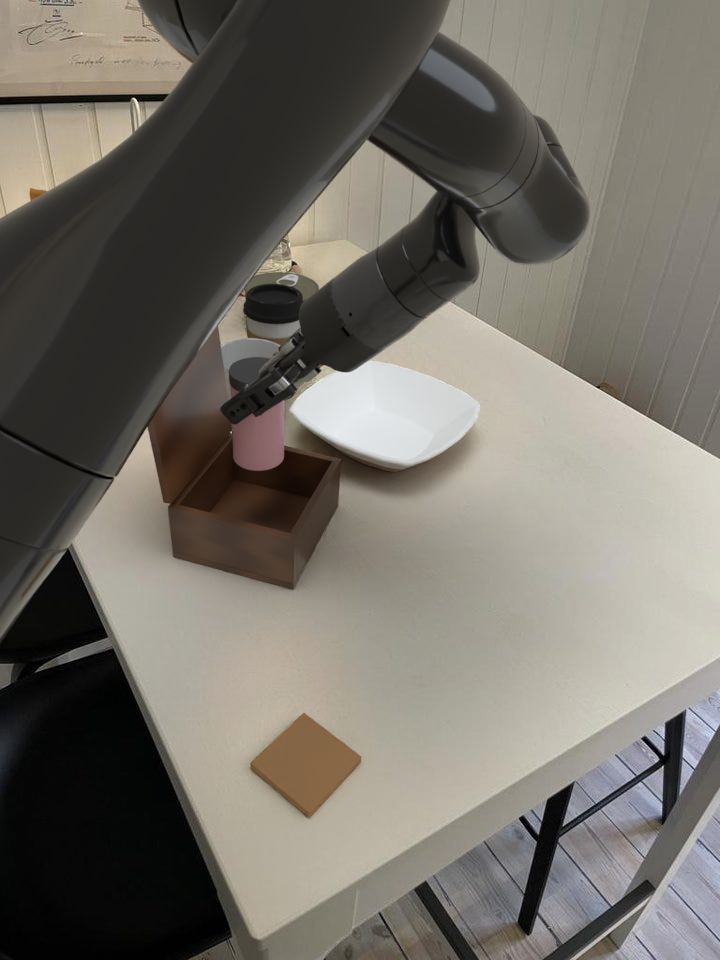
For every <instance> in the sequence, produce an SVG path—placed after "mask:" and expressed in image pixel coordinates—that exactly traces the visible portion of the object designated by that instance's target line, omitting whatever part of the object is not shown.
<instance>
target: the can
mask: <svg viewBox="0 0 720 960" xmlns="http://www.w3.org/2000/svg"><path fill="white" fill-rule="evenodd" d="M262 284H283V285H288V286H291V287H294V288H296V289H297V290H299V291H300V292H301V293H302V296H303V302H304V301H305V300H306V299H308V298H309V297H310V296H311V295H313V294H314V293H315V292H317V291H318V290H319V289H320V286H319V284H318V283H317V282H316V281H315V280H314V279H312V278H311V277H308V276H307V275H306V276H305V275H303V274H299V273H294V272H293V273H292V272H286V271H285V272H284V271H271V272H264V273H259V274H255V276H254V277H253V278H252V280H251V281H250V282H249V284H248V285H247V286H246V288H245V289H244V290H243V291H244V296H245V300H246V296H247V292H248V291H249V290H250V289H251V288H253V287H255V286H258V285H262ZM245 318H246V321H245V324H247V316H246V315H245Z"/></svg>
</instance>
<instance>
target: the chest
mask: <svg viewBox="0 0 720 960" xmlns="http://www.w3.org/2000/svg"><path fill="white" fill-rule="evenodd" d="M341 466H342V458H340V457H339V458H338V457H335V456H330V455H326V454H321V453H317V452H313V451H309V450H305V449H300V448H296V447H291V446H288V445H284V459H283V461H282V462H281V463H280V464H279V465H278V466H276V467H274V468H272V469H269V470H263V471H254V470H248V469H245V468H243V467H241V466H239V465H238V464H237V463H236V462H235V461H234V458H233V438H232V432H230V433H229V434H228V435H227V437H226V438H225V439H224V440H223V441H222V443H221V444H220V445H219V446H218V447H217V449H216V450H215V451H214V452H213V453H212V455H211V456H210V457H209V458H208V459H207V461H206V462H205V463H204V464H203V465H202V467H201V468H200V469H199V470H198V471H197V473H196V474H195V475H194V476H193V478H192V479H191V480H190V481H189V482H188V484H187V485H186V486H185V487H184V488H183V490H182V491H181V492H180V493H179V494H178V496H177V497H176V498H175V499H174V500H173V502H172V503H171V504H169V505H168V506H167V514H168V515H167V517H168V522H169V523H168V524H169V533H170V542H171V548H172V549H171V551H172V557H173V558H175V559H179V560H184V561H187V562H191V563H194V564H198V565H203V566H206V567H209V568H212V569H213V568H214V569H217V570H220V571H223V572H227V573H232V574H235V575H238V576H243V577H246V578H250V579H253V580H257V581H260V582H265V583H268V584H271V585H275V586H279V587H283V588H286V589H290V590H294V589H295V587H296V586H297V584H298V582H299V580H300V578H301V576H302V575H303V572H304V571H305V569H306V567H307V565H308V563H309V562H310V559H311V557H312V556H313V554H314V552H315V550H316V548H317V547H318V544H319V543H320V541H321V539H322V537H323V535H324V533H325V531H326V530H327V528H328V526H329V524H330V522H331V520H332V518H333V516H334V515H335V513H336V511H337V509H338V507H339V501H340V500H339V499H340V485H341V468H342V467H341Z"/></svg>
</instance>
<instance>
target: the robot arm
mask: <svg viewBox="0 0 720 960" xmlns="http://www.w3.org/2000/svg"><path fill="white" fill-rule="evenodd" d="M137 3H138V5H139V8H140V9H141V10H142V12H143V14H144V15H145V16H146V18H147V20H148V21H149V22H150V24H151V26H152V27H153V29H154V31H156V33H158V35H159V36H160V37H161V38H162V39H163V40H164V41H165V42H166V43H167V45H168V46H169V47H170V48H171V49H172V50H173V51H175V52H176V53H177V54H178V55H179V56H181V57H182V58H183V59H184V60H186V61H188V62H189V63H190V64H191V65H190V66H189V67H188V69H187V71H185V72H184V74H183V76H182V77H181V78H180V80H179V81H178V83H177V84H176V86H175V87H174V88H173V89H172V90H171V92H169V94H168V95H167V96H166V97H165V99H163V101H162V102H161V103H160V105H159V106H158V107H157V108H155V110H154V111H153V112H152V114H151V115H150V116H149V117H148V118H147V119H146V120H145V121H144V122H142V123H141V125H140V126H139V127H138V128H137V129H135V130H134V131H133V132H132V133H131V135H129V136H128V137H127V138H126V139H125V140H123V141H122V142H120V143H119V144H118V145H117V146H115V147H114V148H112V150H111V151H109V152H108V153H107V154H105V155H104V156H103V157H102V158H100V159H99V160H97V161H96V162H94V163H92V164H90V165H89V166H87V167H86V168H84V169H83V170H81V171H79V172H77V173H76V174H74V175H73V176H71V177H70V178H68V179H66V180H65V181H63V182H61V183H59V184H58V185H56V186H54V187H52V188H50V189H48V190H46V191H47V192H45V193H44V194H42V195H40V196H38V197H37V198H35V199H33V200H30V201H27V202H26V203H24V204H23V205H21V206H19V207H17V208H15V209H14V210H12V211H10V212H9V213H7V214H5V215H3V216H2V217H0V644H1V643H2V642H3V640H4V639H5V637H6V636H7V634H8V633H9V632H10V630H11V628H12V627H13V626H14V624H15V622H16V621H17V619H18V618H19V616H20V615H21V613H22V612H23V611H24V609H25V608H26V606H27V605H28V604H29V602H30V601H31V599H32V598H33V596H34V595H35V594H36V593H37V591H38V590H39V589H40V587H41V586H42V584H43V583H44V582H45V580H46V579H47V578H48V577H49V575H50V574H51V573H52V571H53V570H54V569H55V567H56V565H57V564H58V563H59V562H60V560H61V559H62V557H63V556H64V555H65V553H66V552H67V551H68V549H69V548H70V546H71V545H72V543H73V542H74V540H75V539H76V538H77V536H78V534H79V533H80V532H81V530H82V528H83V527H84V526H85V524H86V523H87V521H88V519H90V517H91V515H92V514H93V512H94V511H95V510H96V508H97V506H98V505H99V504H100V502H101V501H102V499H103V497H104V496H105V495H106V493H107V491H108V490H109V489H110V487H111V486H112V484H113V483H114V481H115V478H117V477H118V476H119V474H120V473H121V471H122V469H123V468H124V466H125V464H126V463H127V461H128V459H129V458H130V456H131V454H132V452H133V451H134V449H135V448H136V446H137V445H138V443H139V441H140V440H141V438H142V436H143V434H144V433H145V432H146V430H147V429H148V425H149V424H150V422H151V420H152V419H153V417H154V416H155V414H156V413H157V411H158V410H159V408H160V407H161V405H162V404H163V402H164V401H165V400H166V398H167V397H168V395H169V394H170V392H171V391H172V389H173V388H174V387H175V385H176V384H177V382H178V381H179V380H180V378H181V377H182V375H183V374H184V372H185V371H186V370H187V368H188V367H189V365H190V364H191V363H192V361H193V360H194V358H195V357H196V356H197V354H198V353H199V351H200V350H201V348H202V347H203V346H204V344H205V343H206V341H207V340H208V339H209V337H210V336H211V334H212V333H213V332H214V330H215V329H216V328H217V326H218V327H219V326H220V324H221V323H222V321H223V320H224V318H225V317H226V315H227V314H228V313H229V311H230V310H231V308H232V307H233V306H234V304H235V303H236V301H237V300H238V299H239V297H240V296H241V295H242V293H243V292H244V291H245V290H244V289H245V288H246V286H247V285H248V284H249V282H250V281H251V280H252V278H253V277H254V276H256V275H257V273H258V272H259V271H260V269H261V267H262V266H263V265H264V264H265V263H266V261H267V260H268V259H269V258H270V256H271V255H272V254H273V253H274V252H275V250H276V249H277V248H278V247H279V246H280V245H281V243H282V242H283V240H284V239H285V238H286V237H287V236H288V235H289V233H290V232H291V231H292V230H293V229H294V228H295V226H296V225H297V224H298V222H300V220H301V219H302V218H303V217H304V216H305V214H306V213H307V212H308V211H309V209H310V208H311V207H312V206H313V204H315V202H316V201H317V200H318V198H320V197H321V196H322V194H323V193H324V191H326V189H327V188H328V187H329V186H330V185H331V183H332V182H333V181H334V180H335V178H336V177H337V176H338V175H340V172H341V171H342V170H343V169H344V168H345V167H346V165H347V164H348V163H349V162H350V161H351V160H352V158H353V157H354V156H355V155H356V154H357V152H358V151H359V150H360V149H361V148H362V146H363V145H364V144H365V143H366V141H367V142H369V143H370V144H372V145H373V146H374V147H376V148H377V149H379V150H380V151H382V152H383V153H384V154H386V155H387V156H388V157H390V158H391V159H393V161H395V162H397V163H398V164H399V165H401V166H402V167H404V168H405V169H406V170H408V171H409V172H411V173H412V174H413V175H414V176H416V177H417V178H419V179H420V180H421V181H423V182H424V183H425V184H426V185H428V186H429V187H431V188H432V189H433V190H435V192H434V194H433V195H432V196H431V197H430V199H429V200H428V202H427V203H426V204H425V205H424V206H423V208H422V209H421V210H420V211H419V213H418V214H417V215H416V216H415V217H414V218H413V219H412V220H411V221H409V222H408V223H407V224H405V225H403V227H402V228H400V229H399V230H398V231H396V232H395V233H393V234H392V235H391V236H390V237H388V238H387V239H386V240H385V241H384V242H382V243H381V244H380V245H379V246H377V247H375V248H374V249H372V250H371V251H369V252H367V253H365V254H364V255H362V256H360V257H359V258H357V259H356V260H355V261H353V262H352V263H351V264H349V265H348V266H347V267H346V268H344V269H343V270H342V271H341V272H339V273H338V274H337V275H335V276H334V277H333V278H332V279H331V280H329V281H328V282H326V283H325V284H324V285H322V287H319V290H318V291H317V292H315V293H314V294H313V295H311V296H310V297H309V298H308V299H306V300H305V301H304V302H303V304H302V305H301V307H300V311H299V323H300V328H299V329H298V330H297V331H296V332H295V333H294V334H293V335H292V336H291V337H290V338H289V339H287V340H286V341H285V342H284V343H283V344H282V345H281V346H280V347H279V348H278V350H279V351H278V352H275V353H274V354H273V356H272V357H271V359H270V360H269V361H268V362H266V363H265V364H264V365H263V366H262V367H261V368H260V370H259V376H258V377H257V378H256V379H254V380H253V381H252V382H251V383H250V384H246V385H245V386H244V389H243V390H242V391H240V392H239V393H238V394H236V395H235V396H233V397H232V398H231V399H229V400H228V401H227V402H225V403H224V404H223V405H222V406H221V408H220V410H221V412H222V414H223V415H224V416H225V417H226V418H227V419H228V420H229V421H230V422H231V423H232V424H238V423H239V422H241V421H242V420H243V419H245V418H246V417H248V416H249V415H250V414H253V415H254V416H255V417H258V416H261V415H262V414H263V413H264V412H266V411H267V410H269V409H270V408H272V407H274V406H275V405H277V404H278V403H280V402H282V401H283V400H285V399H286V398H288V397H290V396H292V397H293V396H294V395H295V394H296V392H297V391H298V388H299V387H301V386H302V385H303V384H304V383H310V382H311V381H312V380H314V379H315V378H316V377H317V376H319V375H320V373H322V371H323V369H321V368H322V367H323V366H325V367H328V368H330V369H332V370H333V371H335V372H336V371H339V372H352V371H354V370H355V369H357V368H358V367H360V366H361V365H363V364H364V363H366V362H367V361H369V360H372V359H373V358H375V357H376V356H378V355H379V354H380V353H382V352H383V351H385V350H387V349H388V348H390V347H391V346H393V345H394V344H395V343H397V342H399V341H400V340H401V339H403V338H405V337H406V336H407V335H409V334H410V333H411V332H413V330H415V329H416V328H417V327H418V326H420V324H421V323H422V322H424V320H425V319H427V318H428V317H430V316H431V315H433V314H434V313H435V312H437V311H439V310H440V309H441V308H443V307H444V306H446V305H448V304H449V303H451V302H452V301H453V300H455V299H456V298H458V297H460V296H461V295H462V294H463V293H465V292H466V291H468V290H469V289H470V288H472V287H473V286H474V285H475V284H476V282H477V281H478V278H479V275H480V271H481V267H480V266H481V265H480V258H479V252H478V247H477V242H476V241H477V240H476V230H478V231H479V232H480V233H481V235H482V236H483V238H485V240H486V241H487V242H488V243H489V245H490V246H491V247H492V248H493V249H494V250H495V251H496V253H498V255H499V256H500V257H502V258H503V259H505V260H506V261H508V262H510V263H513V264H516V265H519V266H526V267H528V266H530V267H534V266H541V265H542V266H543V265H547V264H550V263H552V262H554V261H557V260H560V259H561V258H562V257H564V256H566V255H567V254H568V253H570V252H571V251H572V250H573V249H574V248H576V246H577V245H578V244H579V243H580V242H581V240H582V238H583V237H584V235H585V233H586V231H587V229H588V226H589V223H590V217H591V207H590V201H589V198H588V196H587V194H586V191H585V189H584V187H583V186H582V184H581V182H580V180H579V178H578V176H577V174H576V172H575V169H574V168H573V166H572V164H571V161H570V160H569V159H568V157H567V155H566V152H565V151H564V149H563V146H562V144H561V142H560V140H559V138H558V137H557V136H558V135H557V134H556V133H555V131H554V129H553V127H552V126H551V125H550V123H549V122H548V121H547V120H546V119H544V118H543V117H542V116H540V115H536V114H533V113H532V112H531V110H530V109H529V107H528V106H527V105H526V103H525V102H524V100H522V98H521V97H520V96H519V94H518V93H517V92H516V91H515V89H514V88H513V87H512V85H511V84H510V83H509V82H508V81H507V80H506V79H505V78H504V77H503V76H502V75H501V74H500V73H498V71H496V70H495V69H494V68H493V67H492V66H490V65H489V64H488V63H487V62H486V61H485V60H483V58H480V56H479V55H476V54H475V53H474V52H472V51H471V50H469V49H468V48H466V47H464V46H463V45H462V44H460V43H458V42H457V41H455V40H454V39H453V38H450V37H449V36H447V35H445V34H444V33H442V32H441V31H440V29H441V27H442V26H443V22H444V20H445V18H446V15H447V11H448V9H449V6H450V4H451V0H137ZM476 228H477V229H476ZM272 366H274V367H275V369H273V370H272V371H271V370H270V368H271V367H272ZM293 381H294V382H293ZM286 400H287V399H286ZM286 400H285V401H286Z"/></svg>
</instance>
